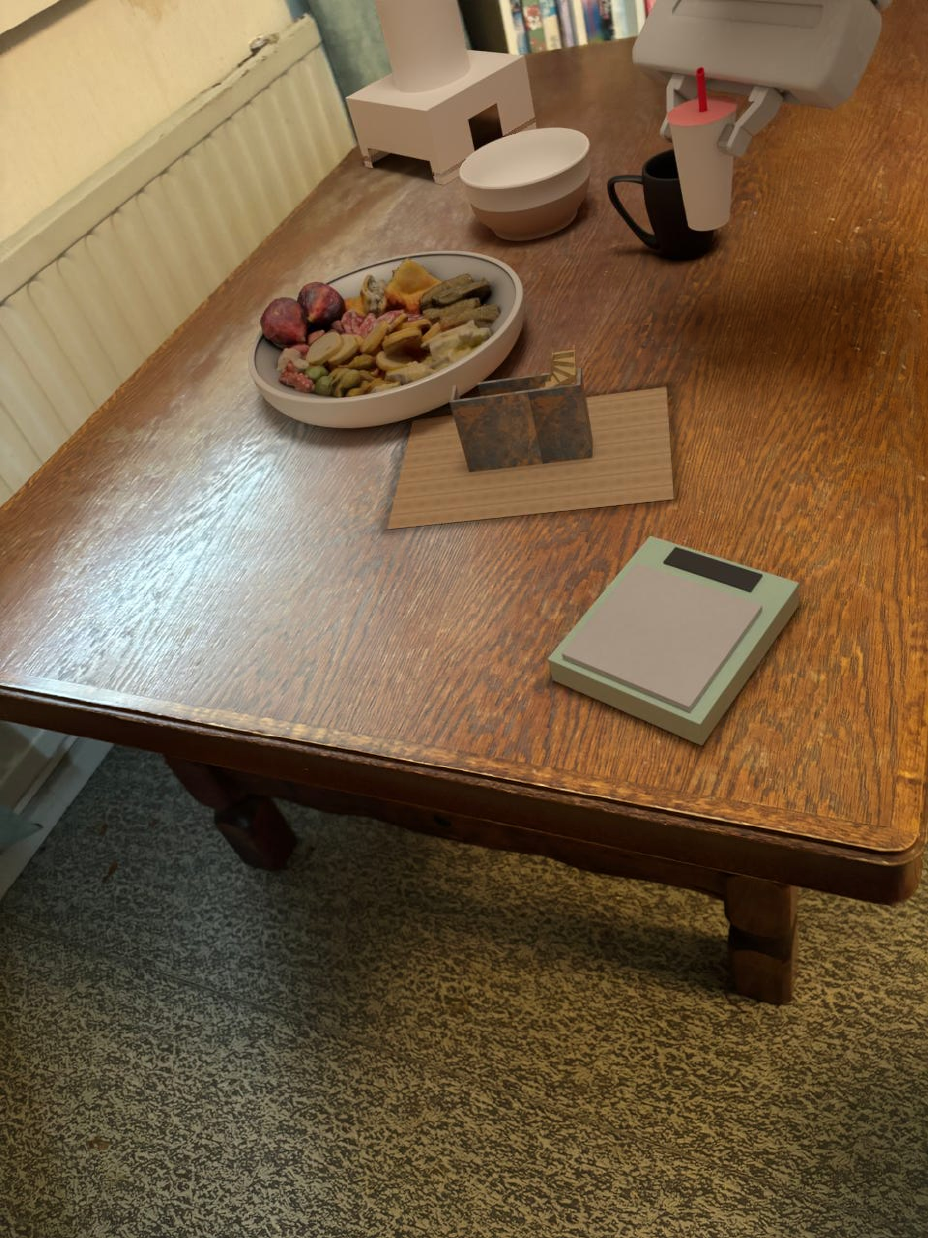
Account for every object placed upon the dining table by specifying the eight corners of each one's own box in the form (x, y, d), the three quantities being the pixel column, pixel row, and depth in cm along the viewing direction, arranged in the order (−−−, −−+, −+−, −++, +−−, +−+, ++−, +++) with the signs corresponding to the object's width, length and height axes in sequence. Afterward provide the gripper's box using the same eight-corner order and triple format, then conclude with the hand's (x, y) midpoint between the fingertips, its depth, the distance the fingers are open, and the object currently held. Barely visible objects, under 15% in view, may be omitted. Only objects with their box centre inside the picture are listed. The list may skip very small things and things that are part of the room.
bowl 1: (557, 279, 109) (545, 212, 104) (491, 440, 90) (472, 367, 85) (324, 300, 120) (302, 239, 115) (220, 448, 101) (188, 383, 96)
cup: (722, 239, 78) (714, 81, 70) (664, 234, 81) (649, 82, 73) (753, 208, 81) (748, 51, 72) (695, 203, 84) (684, 53, 75)
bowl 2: (598, 180, 125) (590, 116, 120) (597, 237, 115) (588, 170, 109) (478, 202, 129) (465, 142, 124) (467, 260, 118) (451, 196, 113)
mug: (622, 236, 113) (612, 154, 107) (727, 226, 109) (724, 140, 103) (610, 271, 108) (599, 187, 102) (720, 263, 104) (716, 175, 97)
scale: (799, 606, 69) (799, 576, 67) (702, 746, 63) (699, 718, 61) (652, 557, 76) (649, 529, 74) (552, 680, 70) (545, 653, 68)
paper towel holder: (365, 166, 148) (298, -64, 127) (454, 115, 154) (404, -112, 133) (443, 184, 136) (383, -66, 115) (536, 128, 142) (495, -118, 121)
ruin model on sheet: (666, 386, 91) (657, 292, 84) (673, 499, 80) (664, 400, 73) (412, 420, 97) (385, 334, 90) (387, 529, 86) (353, 440, 79)
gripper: (661, -67, 77) (587, 111, 81) (882, -64, 63) (779, 150, 67) (704, -24, 81) (632, 143, 85) (920, -12, 68) (821, 186, 72)
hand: (698, 147), depth 76 cm, fingers closed on cup, 5 cm apart
